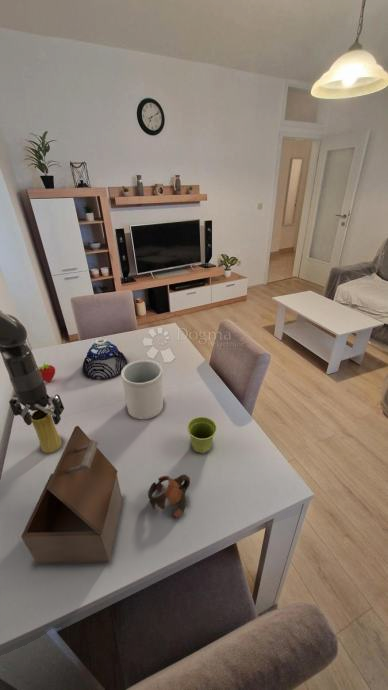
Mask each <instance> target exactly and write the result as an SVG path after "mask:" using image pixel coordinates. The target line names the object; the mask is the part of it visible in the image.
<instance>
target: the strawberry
mask: <svg viewBox="0 0 388 690" xmlns="http://www.w3.org/2000/svg"><path fill="white" fill-rule="evenodd" d="M42 362H43V361H42ZM38 368H39V370H40V372H41V375H42V378H43V381H44V382H46V383H51V382H52V380H53V379H54V376H55V374H56V368H55V366H53V365H52V364H49V363H47V364H46V363H45V362H43V365H42V366H39V367H38Z"/></svg>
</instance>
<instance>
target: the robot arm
mask: <svg viewBox="0 0 388 690" xmlns="http://www.w3.org/2000/svg"><path fill="white" fill-rule="evenodd" d="M27 339H28V331H27V329H26V327H25V326H24V325H23V323H22V322H21V321H20V320H19V319H18V318H16V317H15V316H13V315H11V314H8V313H5V312H3V311H2V310H1V309H0V355H1V357H2V358H1V359H2V360H3V361H2V362H3V364H4V366H5V369H6V371H7V373H8V377H9V381H10V383H11V386H12V388H13V390H14V393H15V395H13V396H12V397H11V398H10V399H9V401H8V403H9V406H10V408H11V411H12V414H13V416H15V417H17V416H20V417H21V418H22V419H23V421H24V423H25V424H26V425H27V426H31V425H32V424H33V423H32V420H31V415H32V413H31V412H35V411H36V410H38V411H44V412H45V413H49V414H50V415H51V417H52V420H53V423H54V425H56V426H57V425H58V426H59V424H60V422H61V420H62V417H61V415H62V413H63V411H64V410H65V407H64V404H63V401H62V399H61V396H60V395H59V394H55V395H54V396H50V395H49V394H48V391H47V387H46V384H45V381H43V378H42V375H41V372H40V370H39V367H38V364H37V361H36V359H35V356H34V353H33V352H32V350H31V349H30V347H29V346H28V344H27ZM22 406H24V407H23V408H22ZM29 410H30V411H29Z"/></svg>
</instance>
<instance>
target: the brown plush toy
mask: <svg viewBox="0 0 388 690" xmlns="http://www.w3.org/2000/svg"><path fill="white" fill-rule="evenodd" d="M157 481H158V482H157V483H156V482H155V481H154V482H152V484H151V485H150V486H149V489H148V491H147V497H148V499H149V504H150V506H151V507H152V509H153V510H156V506H157V507H159V508H160V509H161V510H165V509H166V501H167V500H168V501H167V502H169V504H170V505H171V506H174V505H175V506H176V507H177V508H176V509H175V510H174V511H173V512H172V515H173V516H174V517H175V518H176V519H178V518H179V517H180V516H181V515H182V514H183V513H184V511H185V509H186V507H187V498H186V492H187V490H188V489H189V487H190V484H191V479H190V477H189V476H188V475H187V474H181V475H179V476H178V477H176V478H173V477H171V476H169V475H162V476H160V477H158V480H157ZM165 481H168V484H167V487H166V489H164V491H163V492H162V493H161V494H160V495H157V496H153V495H154V493H155V492H156V491H162V489H163V487H164V485H163V484H162V483H164V482H165Z"/></svg>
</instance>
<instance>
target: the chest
mask: <svg viewBox="0 0 388 690" xmlns="http://www.w3.org/2000/svg"><path fill="white" fill-rule="evenodd" d="M52 475H53V473H50V475H49V478H48V479H47V481H46V484H45V486H44V488H43V490H42V492H41V494H40V496H39V498H38V500H37V502H36V505H35V507H34V508H33V510H32V513H31V515H30V517H29V519H28V521H27V523H26V525H25V528H24V529H23V532H22V534H21V537H20V538H21V539H22V540H23V543H24V544H25V546H26V548H27V549H28V551H29V552H30V554H31V556H32V558H33V559H34V561H35V562H36V564H60V563H61V564H63V563H67V564H68V563H108V562H110V561H111V557H112V552H113V547H114V542H115V538H116V532H117V527H118V523H119V518H120V513H121V508H122V505H123V504H122V503H123V496H122V492H121V487H120V483H119V477H118V474H117V475H116V479H115V484H114V488H113V492H112V496H111V500H110V504H109V508H108V512H107V516H106V520H105V524H104V528H103V532H102V534H98V533H97V532H96V531H95V530H93V529H92V528H91V527H90V526H89V525H88V524H87V523H85V522H84V521H83V520H82V519H81V518H80V517H79V516H78V515H76V514H75V513H74V512H73V511H72V510H71V509H70V508H68V507H67V506H66V505H65V504H64V503H63V502H62V501H60V500H59V499H58V498H57V497H56V496H55V495H54V494H53V493H51V492H50V491H49V490H48V489H47V486H48V484H49V482H50V479H51V477H52Z"/></svg>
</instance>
